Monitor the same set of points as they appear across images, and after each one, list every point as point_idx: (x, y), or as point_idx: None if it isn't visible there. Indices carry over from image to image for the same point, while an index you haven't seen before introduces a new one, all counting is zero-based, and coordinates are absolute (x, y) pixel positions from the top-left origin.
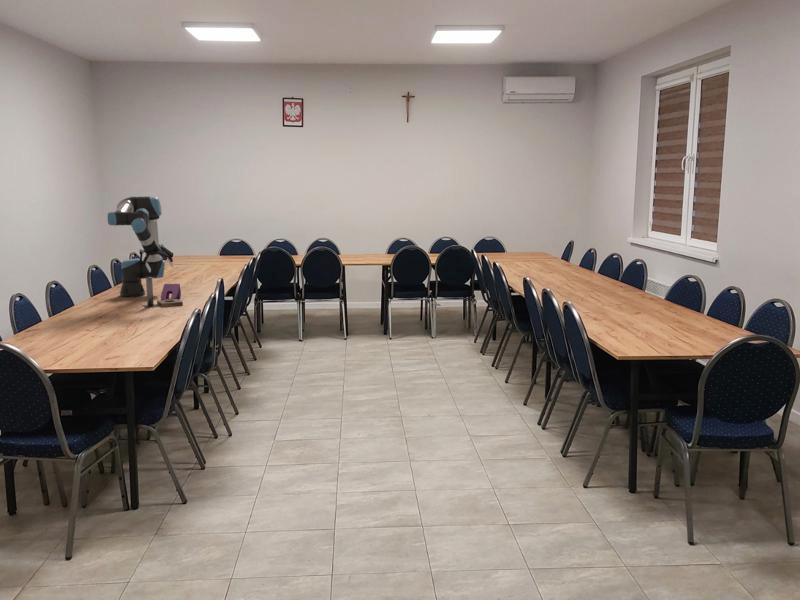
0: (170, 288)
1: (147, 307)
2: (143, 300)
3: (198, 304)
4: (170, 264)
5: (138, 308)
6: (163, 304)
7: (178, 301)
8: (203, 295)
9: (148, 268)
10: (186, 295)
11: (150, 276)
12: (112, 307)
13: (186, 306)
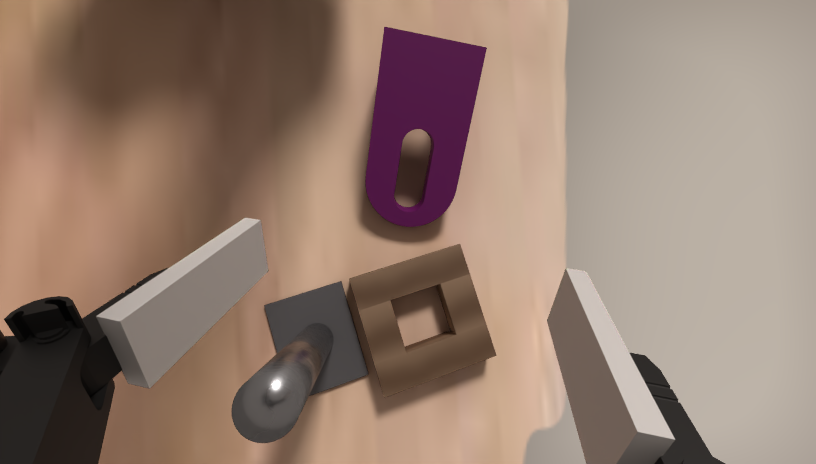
0: (424, 98)
1: None
2: (266, 113)
3: None
4: (560, 366)
5: None
6: (392, 392)
7: (472, 334)
8: (562, 37)
9: (222, 315)
10: (481, 13)
11: None
12: None
13: (506, 363)
